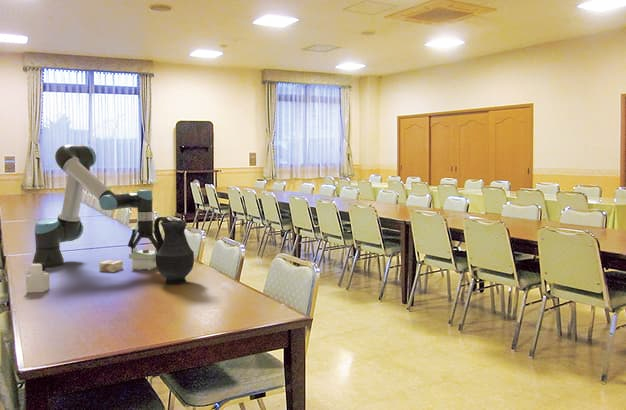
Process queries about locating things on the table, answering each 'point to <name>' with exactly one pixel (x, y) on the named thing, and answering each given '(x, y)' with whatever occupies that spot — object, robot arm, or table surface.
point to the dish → (143, 264)
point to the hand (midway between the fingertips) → (145, 261)
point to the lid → (143, 254)
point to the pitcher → (173, 251)
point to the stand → (111, 266)
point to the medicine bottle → (37, 278)
